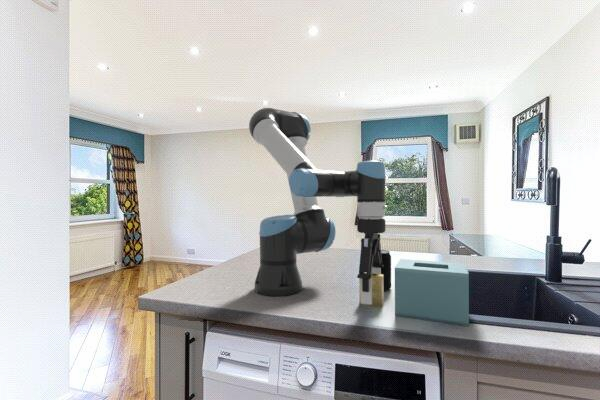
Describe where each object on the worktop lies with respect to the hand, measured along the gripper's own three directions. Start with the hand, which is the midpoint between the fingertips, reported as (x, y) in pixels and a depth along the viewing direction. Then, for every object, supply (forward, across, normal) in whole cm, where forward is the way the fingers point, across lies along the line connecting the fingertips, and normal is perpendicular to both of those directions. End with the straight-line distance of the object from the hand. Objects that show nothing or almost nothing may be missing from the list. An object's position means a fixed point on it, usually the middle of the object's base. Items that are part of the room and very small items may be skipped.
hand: (371, 296), depth 85 cm
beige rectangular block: (+2, 0, 0) cm, 2 cm away
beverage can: (+2, +15, 0) cm, 16 cm away
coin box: (+2, 0, -15) cm, 15 cm away
